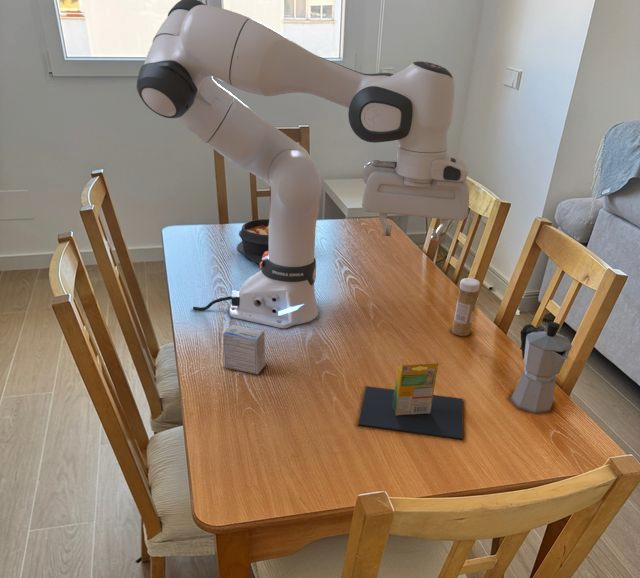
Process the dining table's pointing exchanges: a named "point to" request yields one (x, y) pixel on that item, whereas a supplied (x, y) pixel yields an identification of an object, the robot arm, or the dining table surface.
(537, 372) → the coffee maker
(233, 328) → the medicine box
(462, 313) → the sprinkles bottle
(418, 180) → the robot arm
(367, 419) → the mat
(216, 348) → the dining table surface
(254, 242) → the casserole
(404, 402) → the crayon box
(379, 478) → the dining table surface
